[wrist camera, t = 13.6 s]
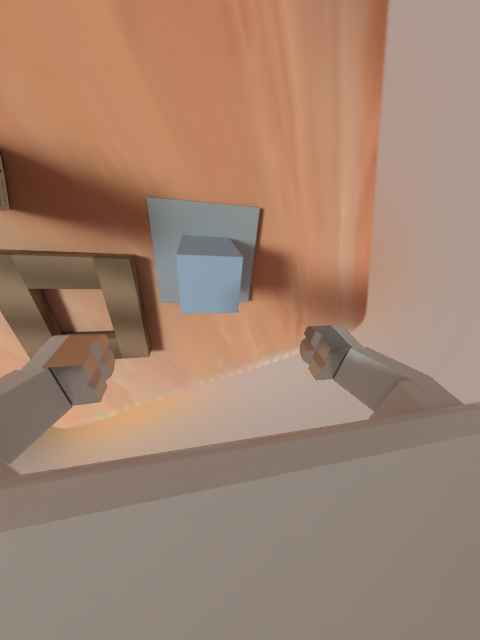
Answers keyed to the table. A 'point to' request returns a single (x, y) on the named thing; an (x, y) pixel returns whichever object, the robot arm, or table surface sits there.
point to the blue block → (208, 274)
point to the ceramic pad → (199, 220)
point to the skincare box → (3, 190)
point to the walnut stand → (72, 273)
